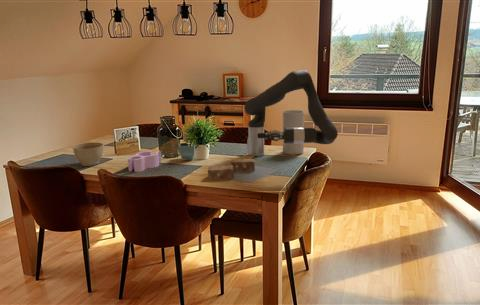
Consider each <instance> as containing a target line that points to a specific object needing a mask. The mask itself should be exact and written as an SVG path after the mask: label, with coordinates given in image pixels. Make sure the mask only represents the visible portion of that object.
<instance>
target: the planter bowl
mask: <svg viewBox="0 0 480 305" xmlns="http://www.w3.org/2000/svg"><path fill="white" fill-rule="evenodd" d="M72 150H73V154H74V157H75V158H76V159H77V161H78V162H79V163H80V165H81V166H84V167H92V165H93V166H97V165H99V164H100V160H102V159H101V158H102V157H103V153H104V144H103V142H96V141H95V142H92V141H91V142H84V143H82V142H81V143H78V144H75V145H73V146H72ZM96 164H97V165H96Z"/></svg>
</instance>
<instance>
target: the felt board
mask: <svg viewBox="0 0 480 305" xmlns="http://www.w3.org/2000/svg"><path fill="white" fill-rule="evenodd" d="M277 171H279V169H276V168H275V169H274V168H271V167H270V168H269V167H265V166H259V165H255V171H234V178H233V179H232V180H233V181H234V180H236V181H240V182H245V183H249V184H252V183H254V182H256V181H258V180H261V179H263V178H265V177H267V176H269V175H271V174H273V173H276V172H277Z"/></svg>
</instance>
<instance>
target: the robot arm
mask: <svg viewBox="0 0 480 305" xmlns="http://www.w3.org/2000/svg"><path fill="white" fill-rule="evenodd" d="M299 90H303V91H304V93H305V94H306V97H307V109H308V114H309V116H310V118H311V120H312V122H313V124H314V125H315V126H316V127H318V128H319V130H317V129H316V128H313V127H304V128H284V132H283V131H280V130H275V129H274V130H270V131H266V132H265V120H266V108H267V107H270V106H271V107H272V106H273V105H277V104H278V103H280V102H281V101H283V100H284V99H285V96H286V95H287V94H290V92H294V91H299ZM244 111H245V113H246V114H247V115H249V116H254V117H253V118H252V119H250V120H249V121H248V124H247V125H248V138H247V139H246V140H247V143H246V146H247V147H246V148H247V151H246V152H247V154H246V155H249V156H251V157H261V156H264V155H265V140H267V141H268V140H269V141H274V142H278V141H283V139H284V143H304V144H310V143H311V144H312V143H313V144H320V145H331V144H333V143H334V142H335V140H336V139H337V137H338V130H337V127H336V126H335V124H334V123H333V122H332V121H331V120H330V118H329V117H328V115H327V112H326V111H325V109H324V108H323V105H322V103H321V101H320V99H319V96H318V93H317V90H316V86H315V84H314V80H313V78H312V76H311V73H309V71H308V70H306V69H300V70H293V71H290V72H289V73H288V74H287V75H285V77H283V78H282V79H281V80H279V81H278V82H276V83H275V84H273V85H271V86H269V87H268V88H267V89H265V90H264V91H262V92H261V93H259V94H258V95H257V96H255V97H253V98H250V99H248V100H246V102H245V105H244Z"/></svg>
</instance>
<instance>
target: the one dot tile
mask: <svg viewBox="0 0 480 305" xmlns="http://www.w3.org/2000/svg"><path fill="white" fill-rule="evenodd" d="M234 172H235V171H233V165H231V164H230V165H218V166H217V165H216V166H208V169H207V176H208V180H234V179H233V178H234Z"/></svg>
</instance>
